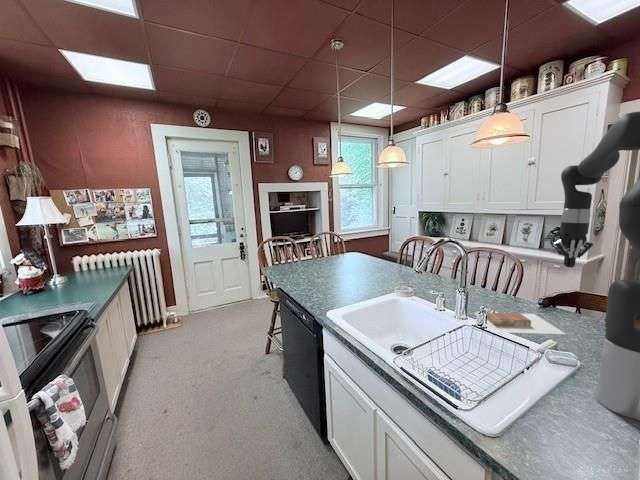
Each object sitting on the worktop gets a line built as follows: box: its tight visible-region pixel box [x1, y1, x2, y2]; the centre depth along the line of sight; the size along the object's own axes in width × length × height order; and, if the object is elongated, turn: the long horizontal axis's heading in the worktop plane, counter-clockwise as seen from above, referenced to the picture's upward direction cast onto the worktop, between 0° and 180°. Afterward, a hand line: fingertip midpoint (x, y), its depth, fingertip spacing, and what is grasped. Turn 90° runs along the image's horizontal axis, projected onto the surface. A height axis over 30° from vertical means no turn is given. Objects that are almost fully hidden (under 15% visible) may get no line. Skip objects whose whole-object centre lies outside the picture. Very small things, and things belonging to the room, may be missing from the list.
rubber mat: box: [473, 312, 567, 335], centre depth 112 cm, size 26×18×1 cm
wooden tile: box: [486, 312, 531, 327], centre depth 112 cm, size 3×7×14 cm
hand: (568, 266), depth 100 cm, fingers closed
